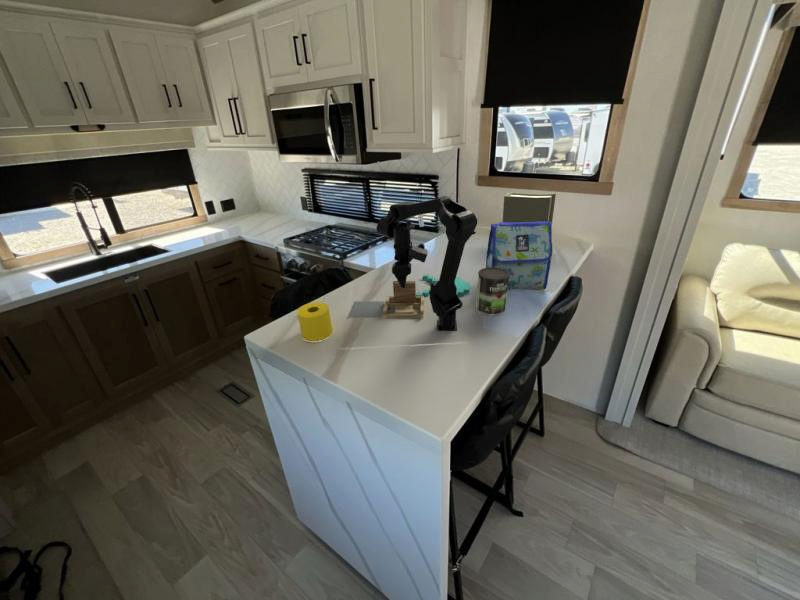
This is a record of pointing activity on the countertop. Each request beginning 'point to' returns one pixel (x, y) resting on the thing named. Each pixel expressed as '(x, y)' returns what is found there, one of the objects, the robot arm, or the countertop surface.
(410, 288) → the wooden block
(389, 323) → the countertop surface
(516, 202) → the book
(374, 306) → the mat
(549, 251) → the lunch bag
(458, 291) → the alien figure
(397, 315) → the rack
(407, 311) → the offcut upper
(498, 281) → the coffee can
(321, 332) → the yellow paper roll
